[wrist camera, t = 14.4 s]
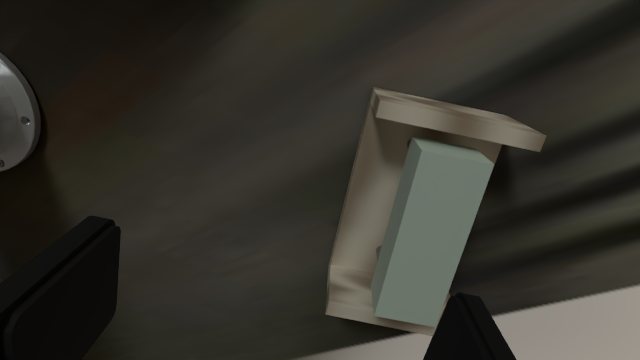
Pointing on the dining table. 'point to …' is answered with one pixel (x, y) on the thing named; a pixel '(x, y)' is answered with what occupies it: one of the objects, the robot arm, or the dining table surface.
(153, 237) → the dining table surface
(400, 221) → the grey-green rectangular block
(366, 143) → the shelf frame
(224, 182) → the dining table surface
